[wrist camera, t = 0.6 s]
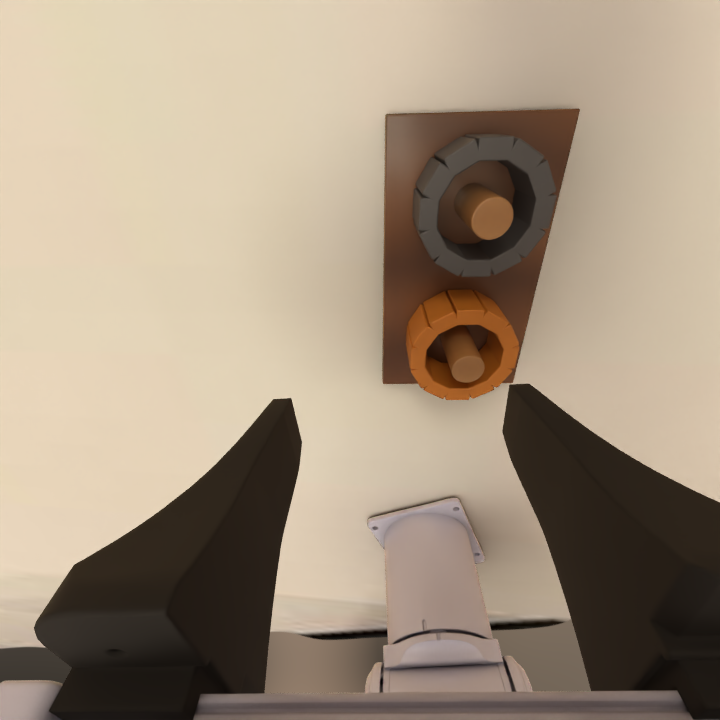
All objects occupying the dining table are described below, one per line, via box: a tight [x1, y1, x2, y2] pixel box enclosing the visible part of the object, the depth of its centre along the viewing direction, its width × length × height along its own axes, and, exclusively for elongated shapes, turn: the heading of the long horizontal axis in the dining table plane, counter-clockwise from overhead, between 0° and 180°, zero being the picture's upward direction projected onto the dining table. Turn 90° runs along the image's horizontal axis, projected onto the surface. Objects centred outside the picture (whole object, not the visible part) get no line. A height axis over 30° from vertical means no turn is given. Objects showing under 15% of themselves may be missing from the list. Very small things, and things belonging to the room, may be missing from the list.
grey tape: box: [412, 134, 557, 277], centre depth 16 cm, size 5×5×3 cm
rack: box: [382, 109, 580, 384], centre depth 18 cm, size 14×8×4 cm, turn 1°
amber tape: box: [406, 289, 519, 400], centre depth 20 cm, size 5×5×3 cm
